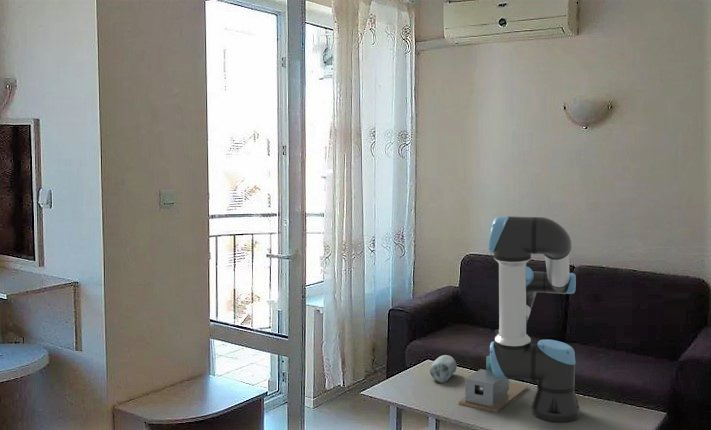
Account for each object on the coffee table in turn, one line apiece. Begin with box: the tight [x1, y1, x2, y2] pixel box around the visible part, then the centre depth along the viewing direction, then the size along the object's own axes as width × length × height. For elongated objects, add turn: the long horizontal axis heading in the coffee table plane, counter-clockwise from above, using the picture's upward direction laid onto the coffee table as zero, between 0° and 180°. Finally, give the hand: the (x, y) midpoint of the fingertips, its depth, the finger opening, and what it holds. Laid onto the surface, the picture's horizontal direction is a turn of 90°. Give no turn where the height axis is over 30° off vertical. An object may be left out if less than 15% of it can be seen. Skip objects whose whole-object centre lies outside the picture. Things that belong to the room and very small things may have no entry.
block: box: [478, 355, 510, 393], centre depth 240 cm, size 14×8×11 cm, turn 145°
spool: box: [429, 354, 458, 383], centre depth 263 cm, size 14×10×10 cm
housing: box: [458, 368, 529, 414], centre depth 244 cm, size 27×14×9 cm, turn 145°
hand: (499, 374), depth 247 cm, fingers closed
